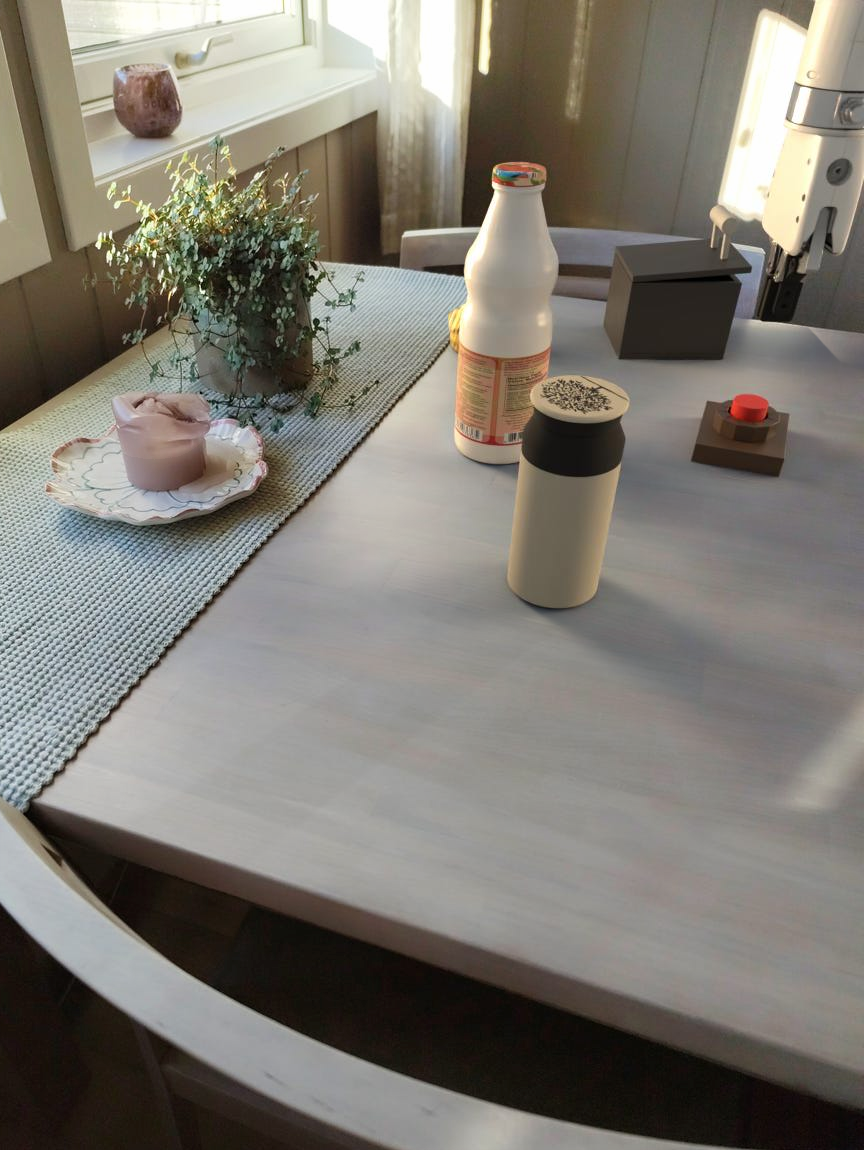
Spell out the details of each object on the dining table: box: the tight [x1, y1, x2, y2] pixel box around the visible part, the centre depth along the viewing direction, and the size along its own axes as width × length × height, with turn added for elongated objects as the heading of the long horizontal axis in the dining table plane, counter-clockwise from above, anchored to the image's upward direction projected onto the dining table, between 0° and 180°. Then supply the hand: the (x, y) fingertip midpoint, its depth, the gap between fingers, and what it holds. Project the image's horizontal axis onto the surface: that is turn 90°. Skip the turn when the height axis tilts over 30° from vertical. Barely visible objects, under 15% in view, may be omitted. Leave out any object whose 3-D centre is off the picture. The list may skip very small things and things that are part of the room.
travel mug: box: [506, 374, 630, 609], centre depth 74 cm, size 8×8×18 cm
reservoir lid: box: [614, 204, 753, 282], centre depth 112 cm, size 14×12×6 cm
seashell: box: [447, 303, 465, 354], centre depth 118 cm, size 10×7×8 cm
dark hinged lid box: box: [602, 252, 743, 361], centre depth 118 cm, size 14×12×10 cm
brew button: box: [730, 393, 770, 422], centre depth 96 cm, size 4×4×2 cm
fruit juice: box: [453, 161, 559, 465], centre depth 90 cm, size 9×9×28 cm
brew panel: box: [690, 399, 790, 478], centre depth 98 cm, size 11×9×4 cm
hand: (773, 318), depth 90 cm, fingers closed
